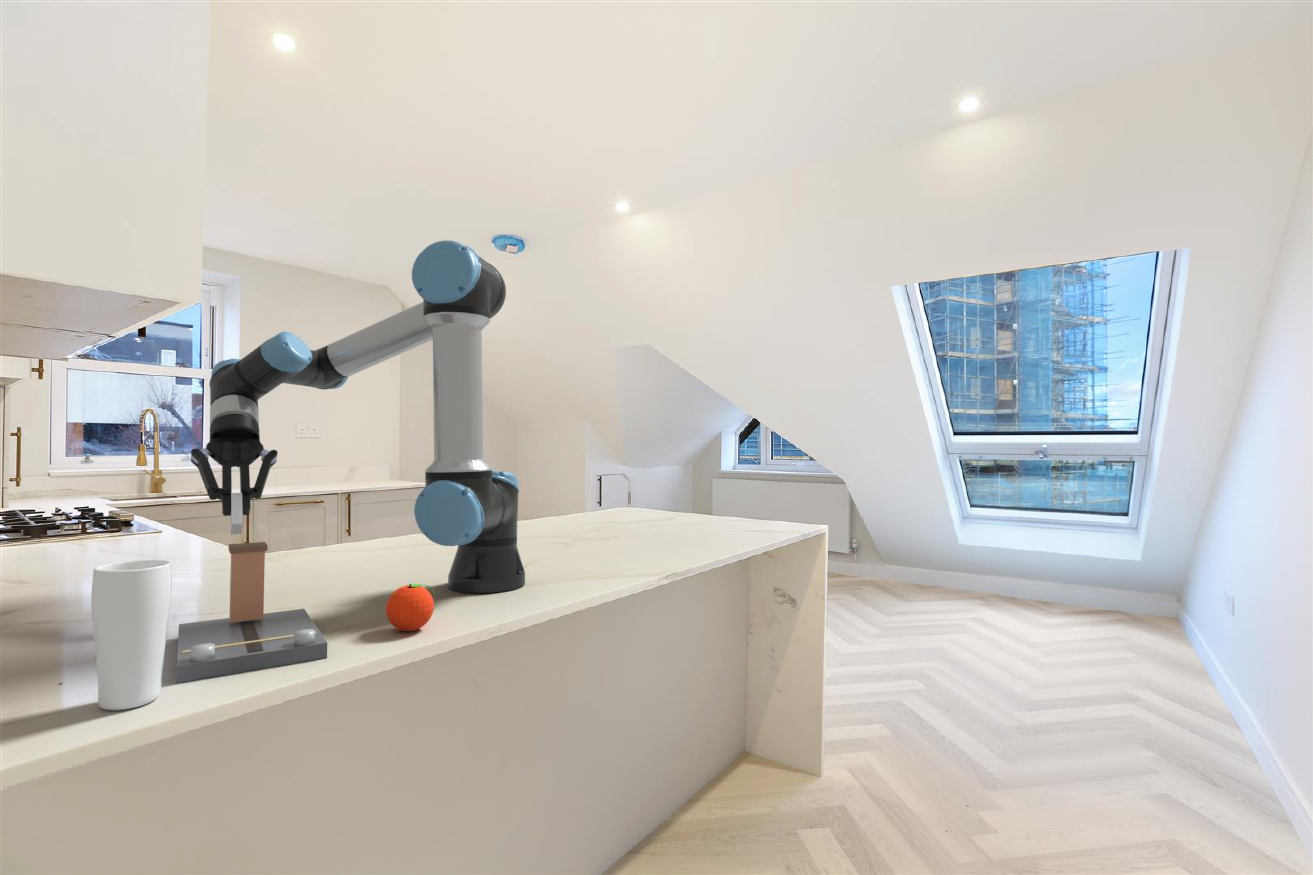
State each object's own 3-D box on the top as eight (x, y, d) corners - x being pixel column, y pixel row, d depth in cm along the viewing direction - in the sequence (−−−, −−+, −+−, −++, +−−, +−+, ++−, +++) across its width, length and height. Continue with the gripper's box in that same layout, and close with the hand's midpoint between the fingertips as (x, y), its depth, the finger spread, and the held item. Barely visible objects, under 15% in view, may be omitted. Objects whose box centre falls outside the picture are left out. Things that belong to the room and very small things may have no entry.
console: (303, 621, 101) (304, 599, 101) (327, 657, 84) (327, 631, 84) (178, 637, 92) (179, 613, 92) (176, 683, 75) (177, 653, 75)
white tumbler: (76, 707, 68) (80, 566, 68) (150, 686, 74) (153, 557, 74) (106, 720, 65) (110, 573, 65) (181, 697, 71) (184, 563, 71)
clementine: (420, 619, 103) (421, 576, 103) (448, 627, 99) (449, 581, 99) (375, 631, 96) (376, 584, 96) (404, 640, 93) (405, 591, 93)
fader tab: (263, 612, 97) (264, 541, 97) (265, 618, 94) (267, 545, 94) (226, 617, 94) (228, 544, 94) (228, 623, 91) (230, 548, 91)
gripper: (274, 441, 122) (281, 540, 108) (190, 439, 114) (186, 545, 100) (278, 413, 118) (285, 512, 104) (191, 409, 110) (186, 516, 96)
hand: (236, 528), depth 102 cm, fingers closed
